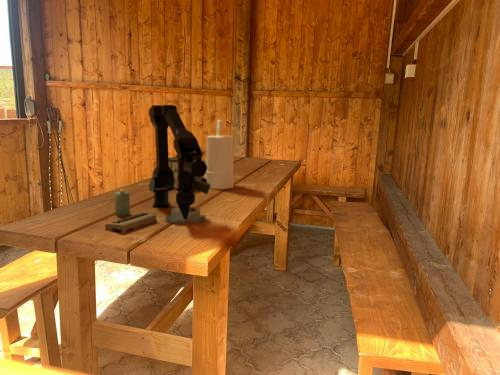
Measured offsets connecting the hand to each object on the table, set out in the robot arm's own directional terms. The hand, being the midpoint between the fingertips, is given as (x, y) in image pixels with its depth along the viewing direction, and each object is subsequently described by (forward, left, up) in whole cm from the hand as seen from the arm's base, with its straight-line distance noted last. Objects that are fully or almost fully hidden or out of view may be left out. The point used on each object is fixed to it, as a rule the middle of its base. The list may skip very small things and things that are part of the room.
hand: (185, 215), depth 138 cm
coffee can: (-58, -5, -2) cm, 58 cm away
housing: (0, 0, -2) cm, 2 cm away
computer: (+5, -18, -2) cm, 19 cm away
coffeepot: (-81, +2, -2) cm, 81 cm away
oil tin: (-8, -23, -2) cm, 24 cm away
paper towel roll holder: (-60, +16, -2) cm, 62 cm away
